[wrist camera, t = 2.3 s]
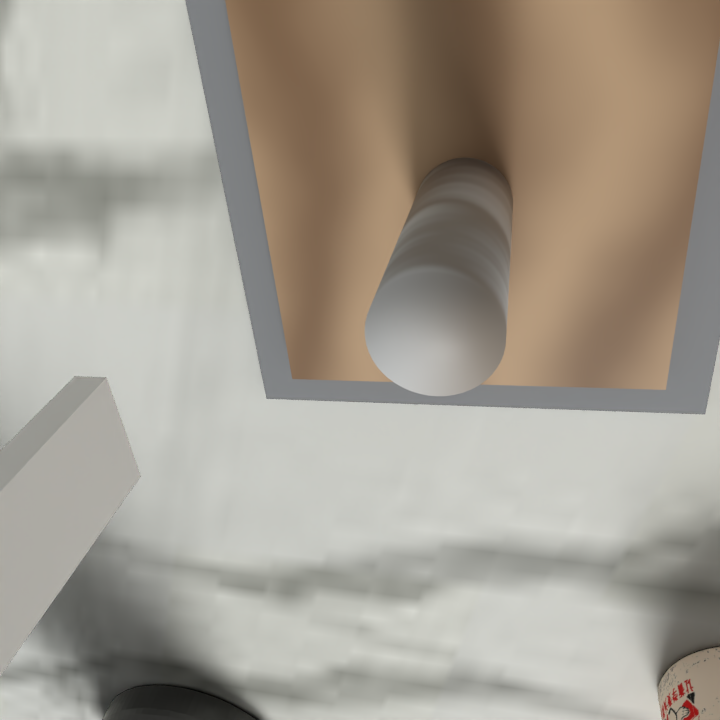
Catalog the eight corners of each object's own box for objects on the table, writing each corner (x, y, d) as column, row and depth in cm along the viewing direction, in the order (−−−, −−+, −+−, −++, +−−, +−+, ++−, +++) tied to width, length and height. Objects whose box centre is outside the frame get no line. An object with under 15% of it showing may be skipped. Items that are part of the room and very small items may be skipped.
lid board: (299, 365, 33) (208, 539, 23) (234, -18, 25) (56, 18, 15) (661, 374, 29) (723, 583, 20) (726, -70, 21) (884, -67, 12)
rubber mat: (270, 391, 35) (266, 398, 34) (177, -77, 24) (169, -77, 24) (702, 406, 30) (705, 414, 30) (809, -159, 20) (816, -161, 20)
